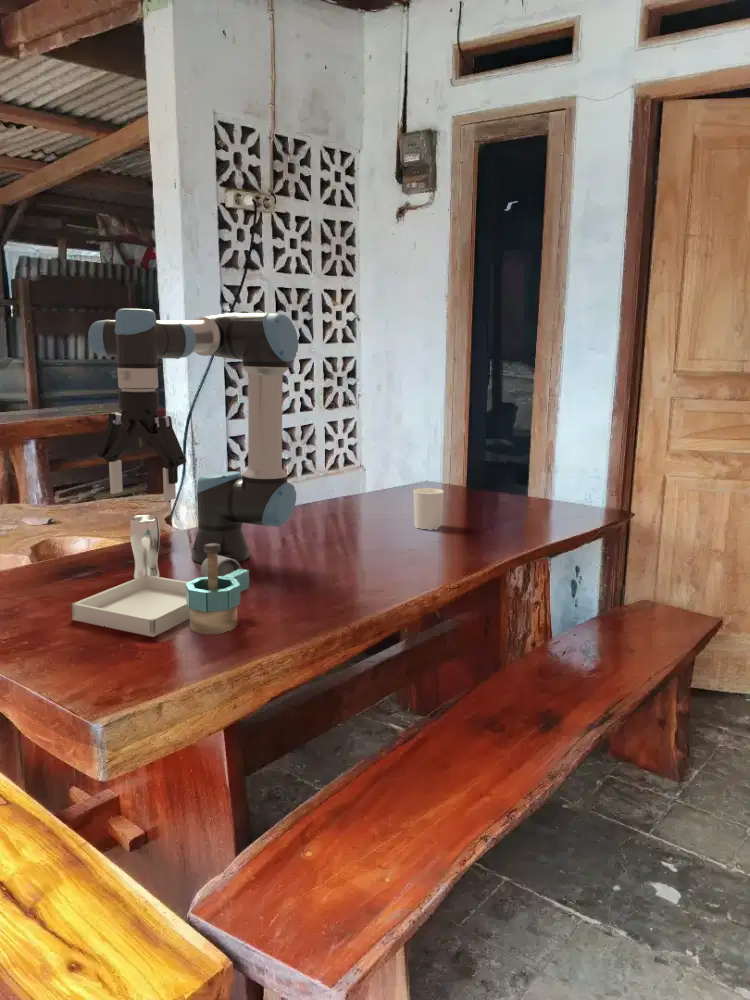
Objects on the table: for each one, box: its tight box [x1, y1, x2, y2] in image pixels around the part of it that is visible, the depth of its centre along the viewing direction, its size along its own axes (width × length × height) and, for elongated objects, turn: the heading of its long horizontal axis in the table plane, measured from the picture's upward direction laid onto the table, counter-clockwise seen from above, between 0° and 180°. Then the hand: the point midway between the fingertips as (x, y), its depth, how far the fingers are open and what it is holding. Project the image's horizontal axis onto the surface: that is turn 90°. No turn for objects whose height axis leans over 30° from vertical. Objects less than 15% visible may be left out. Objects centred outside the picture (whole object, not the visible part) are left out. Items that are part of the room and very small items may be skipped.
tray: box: [71, 575, 190, 638], centre depth 167 cm, size 23×21×4 cm
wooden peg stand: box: [189, 543, 238, 635], centre depth 158 cm, size 10×10×17 cm
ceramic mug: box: [197, 555, 242, 578], centre depth 183 cm, size 11×8×8 cm
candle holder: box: [412, 487, 445, 530], centre depth 247 cm, size 10×10×12 cm
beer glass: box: [129, 514, 161, 579], centre depth 189 cm, size 7×7×15 cm
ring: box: [186, 568, 250, 612], centre depth 161 cm, size 17×10×4 cm, turn 156°
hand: (142, 496), depth 155 cm, fingers open, 13 cm apart
